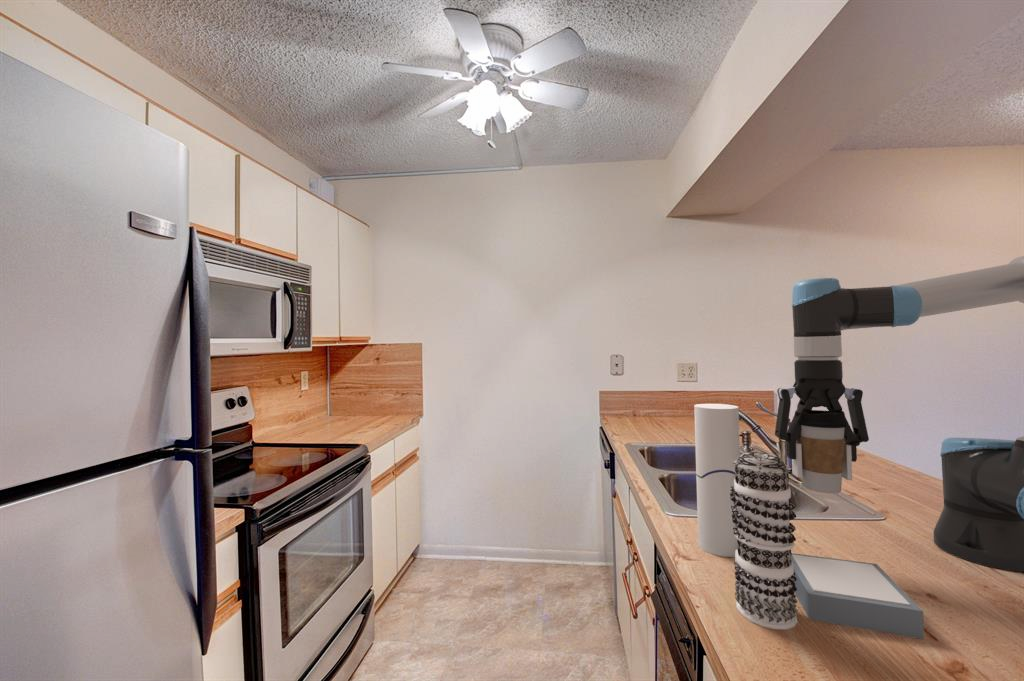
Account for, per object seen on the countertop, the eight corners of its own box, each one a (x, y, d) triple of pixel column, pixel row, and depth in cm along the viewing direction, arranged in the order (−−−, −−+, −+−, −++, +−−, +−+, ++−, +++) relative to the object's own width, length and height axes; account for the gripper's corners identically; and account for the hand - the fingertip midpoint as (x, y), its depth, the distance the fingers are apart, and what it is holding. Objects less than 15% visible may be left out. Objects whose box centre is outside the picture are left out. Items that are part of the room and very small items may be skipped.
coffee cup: (839, 499, 75) (836, 415, 75) (787, 486, 82) (784, 410, 82) (857, 489, 80) (854, 410, 80) (806, 478, 87) (804, 406, 87)
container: (749, 558, 84) (744, 409, 85) (703, 555, 86) (699, 408, 86) (735, 539, 92) (731, 403, 93) (694, 536, 94) (690, 403, 95)
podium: (877, 586, 73) (876, 562, 74) (924, 639, 60) (922, 609, 60) (784, 573, 78) (784, 551, 78) (809, 619, 65) (808, 592, 65)
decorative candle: (720, 606, 69) (716, 453, 69) (753, 589, 73) (749, 446, 74) (779, 639, 61) (773, 466, 61) (812, 618, 65) (806, 457, 66)
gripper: (867, 357, 82) (872, 474, 82) (753, 359, 87) (756, 468, 87) (892, 358, 75) (897, 486, 75) (765, 360, 80) (769, 479, 80)
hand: (821, 476), depth 81 cm, fingers closed on coffee cup, 7 cm apart
